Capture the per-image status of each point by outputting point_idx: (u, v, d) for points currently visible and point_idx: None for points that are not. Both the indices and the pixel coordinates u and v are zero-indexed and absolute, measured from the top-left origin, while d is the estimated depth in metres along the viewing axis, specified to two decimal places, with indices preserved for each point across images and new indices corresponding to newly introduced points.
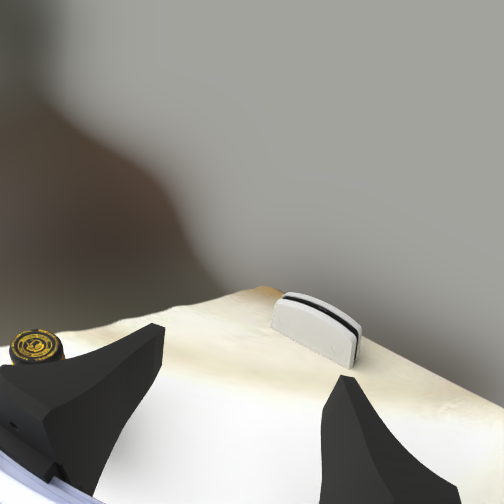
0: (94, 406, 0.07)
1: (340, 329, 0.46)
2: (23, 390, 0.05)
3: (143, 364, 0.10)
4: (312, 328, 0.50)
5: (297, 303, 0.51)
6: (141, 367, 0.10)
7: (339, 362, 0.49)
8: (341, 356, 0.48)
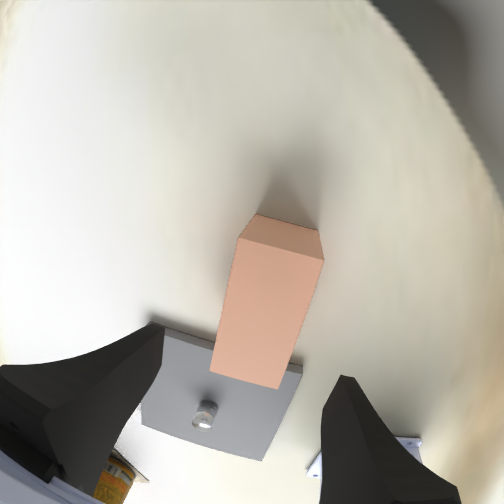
0: (94, 406, 0.07)
1: None
2: (23, 389, 0.05)
3: (143, 364, 0.10)
4: None
5: None
6: (141, 367, 0.10)
7: None
8: None
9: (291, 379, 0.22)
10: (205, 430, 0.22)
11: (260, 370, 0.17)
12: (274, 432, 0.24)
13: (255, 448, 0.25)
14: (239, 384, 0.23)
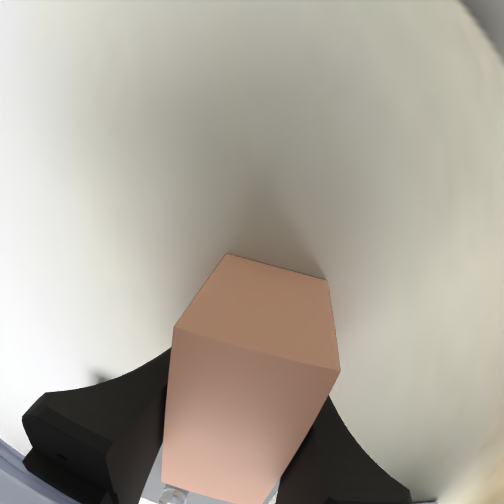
0: (144, 428, 0.07)
1: None
2: (76, 422, 0.05)
3: None
4: None
5: None
6: None
7: None
8: None
9: None
10: None
11: (232, 491, 0.09)
12: None
13: None
14: None
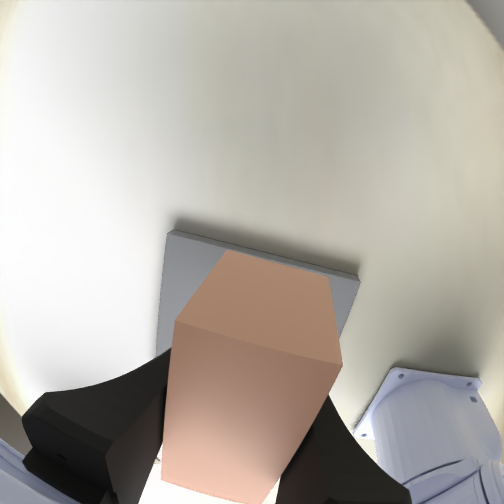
0: (144, 429, 0.07)
1: None
2: (76, 421, 0.05)
3: None
4: None
5: None
6: None
7: None
8: None
9: (347, 290, 0.19)
10: None
11: (232, 489, 0.09)
12: None
13: None
14: None
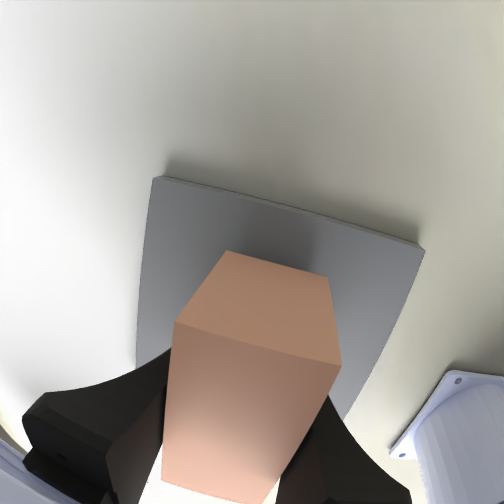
0: (145, 429, 0.07)
1: None
2: (76, 422, 0.05)
3: None
4: None
5: None
6: None
7: None
8: None
9: (408, 262, 0.12)
10: None
11: (232, 489, 0.09)
12: (364, 379, 0.15)
13: None
14: None
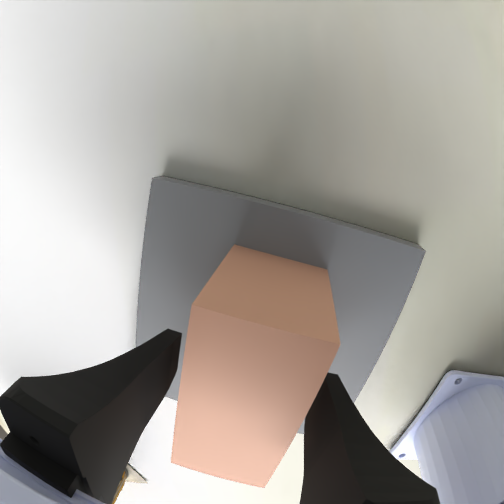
0: (116, 417, 0.07)
1: None
2: (45, 404, 0.05)
3: (161, 371, 0.10)
4: None
5: None
6: (159, 374, 0.10)
7: None
8: None
9: (408, 262, 0.12)
10: None
11: (239, 469, 0.10)
12: (364, 380, 0.15)
13: None
14: None
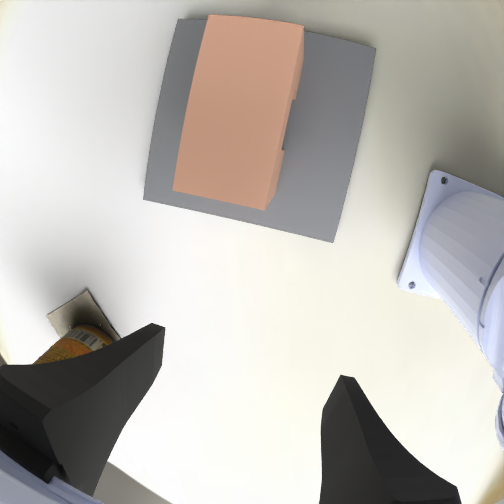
0: (94, 407, 0.07)
1: None
2: (23, 390, 0.05)
3: (143, 364, 0.10)
4: None
5: None
6: (141, 367, 0.10)
7: None
8: None
9: (364, 55, 0.15)
10: None
11: (238, 178, 0.13)
12: (352, 160, 0.17)
13: (324, 207, 0.18)
14: None
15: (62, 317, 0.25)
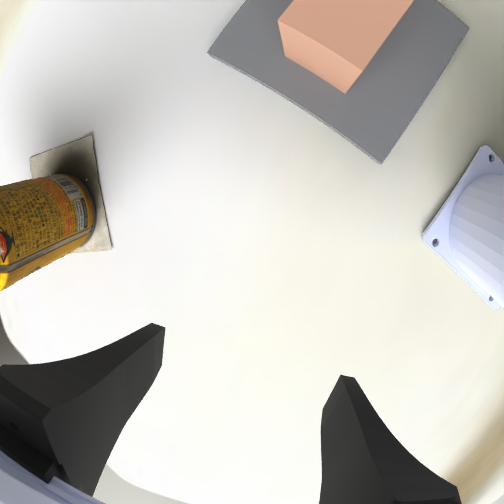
0: (94, 406, 0.07)
1: None
2: (23, 390, 0.05)
3: (143, 364, 0.10)
4: None
5: None
6: (141, 367, 0.10)
7: None
8: None
9: (458, 27, 0.13)
10: None
11: (348, 35, 0.10)
12: (423, 98, 0.15)
13: (385, 126, 0.16)
14: None
15: (46, 162, 0.21)
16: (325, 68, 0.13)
